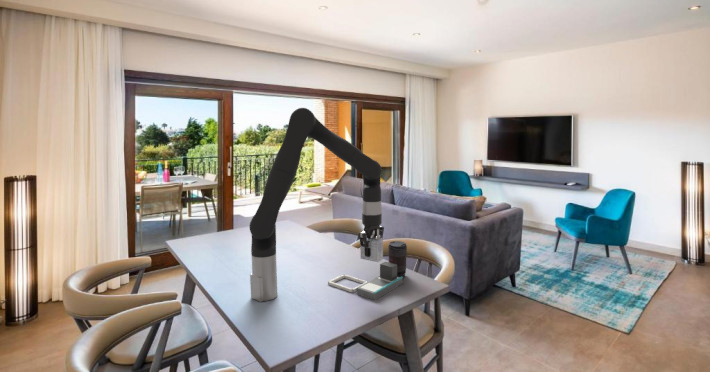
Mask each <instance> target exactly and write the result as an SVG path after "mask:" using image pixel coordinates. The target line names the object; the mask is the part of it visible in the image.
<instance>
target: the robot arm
mask: <svg viewBox="0 0 710 372" xmlns="http://www.w3.org/2000/svg"><path fill="white" fill-rule="evenodd" d="M308 138H311V139H313V141H316V142H318V143H319V144H321V145H323V147H325V148H326V149H327V150H329V151H330V152H331V153H332V154H334V156H336V157H337V158H339V159H340V160H341V161H343V162H344V163H346V164H347V165H349V166H351V167H352V168H353V169H355V170H356V171H357V172H358V173H360V174H361V175H362V180H363V189H362V204H361V224H363V227H364V228H363V231H362V232H359V231H358V238H359V239H358V240H359V244H360V245H359V246H360V247H361V246H362V247H364V248H365V256H366V257H370V246H371V242H372V240H373V238H375V237H377V238H383V237H384V232H385V230H384V229H385V227H384V226H381V225H382V221H383V220H382V216H383V215H382V213H383V212H382V208H383V207H382V189H381V175H382V171H383V169H382V166H381V164H380V163H379V162H378V161H377V160H374V159H372V158H371V157H370V156H368V155H366V154H365V153H363V152H362V150H361V149H359V148H358V147H357V146H355V145H354V144H352V143H351V142H350V141H348V140H346V139H345V138H343V137H342V136H340V135H338V134H336V133H334V132H333V131H332V130H330V129H329V128H328V127H326V126H325V125H324V124H323V123H321V121H320V120H319V119H318V118H317V117H316V116H315V114H314V113H313V111H311V110H310V109H309V108H307V107H298V108H296V109H295V110H293V111H292V113H291V114H290V117H289V120H288V124H287V129H286V132H285V135H284V139H283V142H281V145H280V147H279V150H278V152H277V154H276V156H275V158H274V161H273V163H272V165H271V167H270V170H269V174H268V176H267V179H266V182H265V186H264V191H263V194H262V198H261V201H260V202H259V205H258V208H257V210H256V211H255V214H254V215H253V216H252V218H251V220H250V223H249V232H250V234H251V246H250V247H251V248H250V250H251V251H250V252H251V253H250V255H251V273H250V274H249V282H250V298H251V299H253V300H255V301H258V302H259V303H262V302H267V301H272V300H274V299H276V298H277V297H278V274H277V273H278V268H277V267H278V265H277V228H276V227H277V226H276V225H277V223H276V222H277V220H278V217H279V216H278V215H279V213H280V209H281V206H282V205H283V203H284V201H285V200H286V197H287V196H288V194H289V191H290V190H291V187H292V185H293V183H294V180H295V177H296V175H297V173H298V168H299V165H300V160H301V155H302V150H303V147H304V145H305V142H306V140H307V139H308ZM367 238H369V239H367ZM383 239H384V238H383ZM367 241H368V244H367ZM363 242H364V243H363Z"/></svg>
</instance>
